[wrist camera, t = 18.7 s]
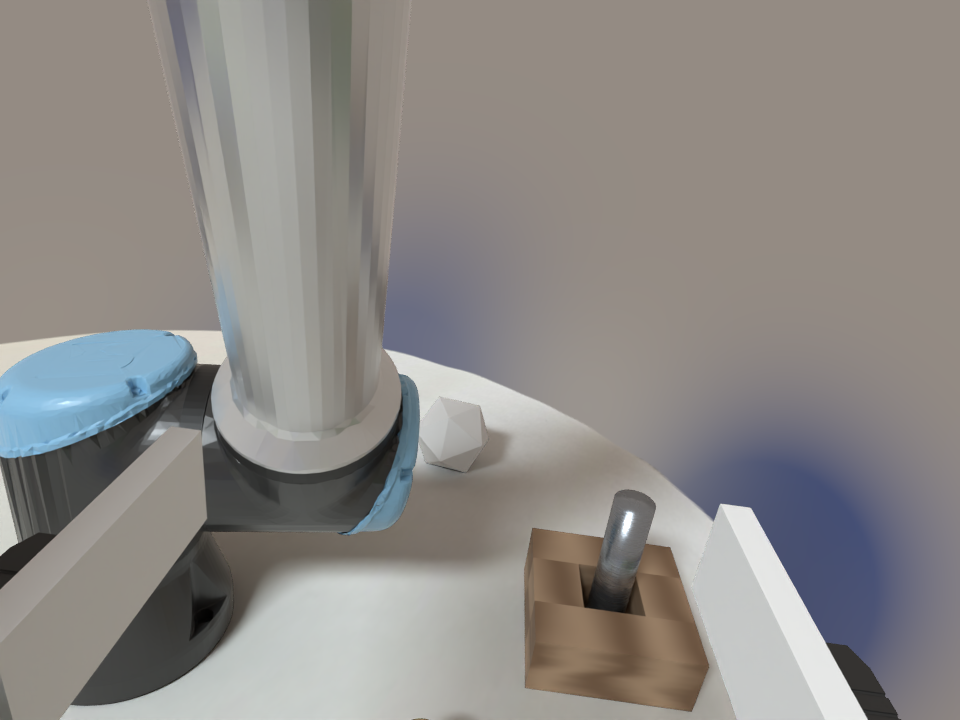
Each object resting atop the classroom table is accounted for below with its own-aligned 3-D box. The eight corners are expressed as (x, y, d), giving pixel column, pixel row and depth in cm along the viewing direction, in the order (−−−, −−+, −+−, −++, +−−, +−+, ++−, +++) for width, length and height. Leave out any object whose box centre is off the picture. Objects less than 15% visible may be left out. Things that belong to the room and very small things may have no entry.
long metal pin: (573, 626, 54) (606, 495, 48) (599, 613, 56) (634, 485, 50) (597, 653, 52) (635, 519, 46) (625, 639, 53) (664, 508, 48)
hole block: (525, 687, 48) (535, 641, 46) (524, 569, 60) (532, 527, 58) (691, 711, 48) (709, 665, 46) (657, 587, 60) (670, 547, 58)
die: (492, 458, 78) (467, 386, 79) (503, 463, 70) (475, 383, 70) (432, 480, 77) (406, 408, 77) (435, 489, 68) (406, 407, 69)
